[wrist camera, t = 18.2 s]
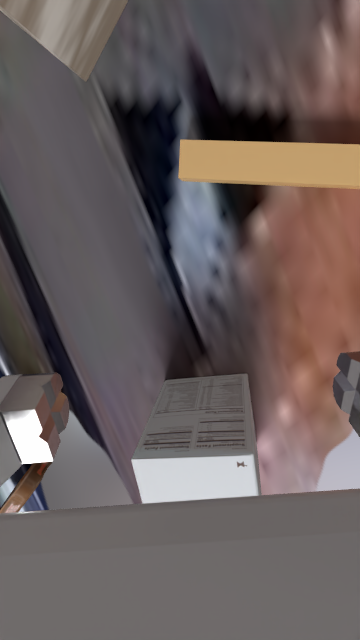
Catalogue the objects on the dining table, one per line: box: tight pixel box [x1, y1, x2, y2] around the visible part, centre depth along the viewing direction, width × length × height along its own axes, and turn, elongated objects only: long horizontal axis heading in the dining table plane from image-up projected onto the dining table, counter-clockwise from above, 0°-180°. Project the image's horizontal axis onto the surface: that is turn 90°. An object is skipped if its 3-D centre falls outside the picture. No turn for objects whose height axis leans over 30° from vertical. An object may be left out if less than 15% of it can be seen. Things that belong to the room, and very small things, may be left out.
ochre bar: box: [179, 140, 360, 189], centre depth 38 cm, size 22×4×4 cm, turn 87°
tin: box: [0, 461, 53, 513], centre depth 57 cm, size 15×3×8 cm, turn 143°
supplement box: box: [131, 373, 261, 504], centre depth 43 cm, size 13×13×18 cm
